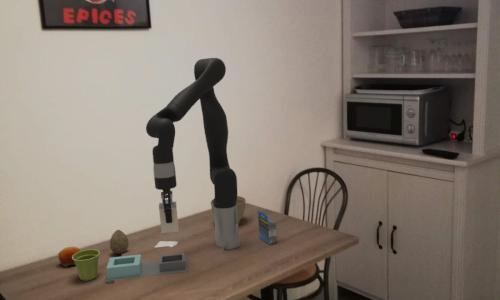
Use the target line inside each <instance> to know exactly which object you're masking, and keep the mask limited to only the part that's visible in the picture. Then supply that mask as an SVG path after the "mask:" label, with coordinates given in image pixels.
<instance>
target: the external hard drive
mask: <svg viewBox="0 0 500 300" xmlns="http://www.w3.org/2000/svg"><path fill="white" fill-rule="evenodd" d="M178 245H179V242H178V241H171V240H168V241H161V240H160V241H158V242H157V244H156V245H155V246H154V248H162V247H163V248H164V247H170V248H173V247H174V246H178Z"/></svg>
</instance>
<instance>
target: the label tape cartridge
mask: <svg viewBox="0 0 500 300" xmlns="http://www.w3.org/2000/svg"><path fill="white" fill-rule="evenodd" d="M257 218H258V233H259V234H258V235H259V237H258V238H259V239H261V240H262V241H263V242H265V244H268V245H272V244H273V245H274V244H276V243H277V224H276V223H275V222H273V221H272V220H270V219H269V217H268V215H267V214H265V213H263V212H262V211H260V210H257Z"/></svg>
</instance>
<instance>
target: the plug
mask: <svg viewBox="0 0 500 300" xmlns="http://www.w3.org/2000/svg"><path fill="white" fill-rule="evenodd" d="M167 209H170V208H166V210H167ZM158 210H159V219H160V221H159V222H160V230H161V234H168V233H176V232H179V231H180V230H179V220H178V210H177V201H172V206H171V210H172V223H166V217H165V213H164V207H163V204H162V202H159V203H158Z"/></svg>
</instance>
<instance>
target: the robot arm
mask: <svg viewBox="0 0 500 300" xmlns="http://www.w3.org/2000/svg"><path fill="white" fill-rule="evenodd" d="M193 71H194V72H193V75H194V79H195V81H194V82H192V83H190V84H189V85H188V86H186V87H185V88H183V89H181V91H179V92H178V93H177V94H176V95H175V96H174V97H173V98H172V99H171V100H170V101H169V102H168V104H167V105H166V106H165V107H164V108H162V109H161V110H159V111H157V113H155V114H154V115H152V117H151V118H149V120H148V121H147V123H146V126H145V132H146V133H147V135H148V136H149V137H151V138H154V139H158V141H157V142H158V143H157V145H155V146H153V148H152V162H153V177H154V188H155V189H156V190H162V191H161V192H160V199H161V201H162V202H161V203H162V204H163V207H164V213H165V217H166V223H172V210H171V206H172V202H173V196H174V195H173V190H171V189H174V188H176V187H177V185H178V184H177V175H176V165H175V160H174V159H175V158H174V150H173V149H174V144H175V137H176V127H175V123H177V122H179V121H181V120H182V119H183V118H184V117H185V116H186V115H187V113H188V112H189V111H190V110H191V109H192V108H193V106H195V105H196V103H197V102H198V101H199V102H200V106H201V113H202V120H203V121H202V124H203V129H204V136H205V141H206V142H205V143H206V147H207V150H208V156H209V157H208V160H209V161H208V162H209V178H210V181H211V184H213V187H214V197H213V199H214V200H213V199H212V200H213V205H214V214H213V216H214V217H213V218H214V230H215V231H214V232H215V234H214V235H215V246H217V248H222V249H223V250H234V249H235V248H239V247H240V230H239V223H237V205H236V200H237V196H238V178H237V174H236V172H235V170H233V169H232V168H231V167H230V164H229V163H230V162H229V159H228V158H229V157H228V152H227V149H228V139H229V128H228V119H227V118H228V117H227V114H226V112H225V110H224V109H223V106H222V105H221V103H220V102H219V100H218V98H217V96H216V93H215V88H214V87H215V86H217V84H218V83H220V82H221V81H222V80H223V79H224V77H225V75H226V71H227V69H226V64H225V62H224V61H223V60H222V59H221V58H218V57H208V58H201V59H198V60H197V61H196V62H195V63H194V68H193ZM166 208H170V209H167V210H166Z"/></svg>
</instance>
